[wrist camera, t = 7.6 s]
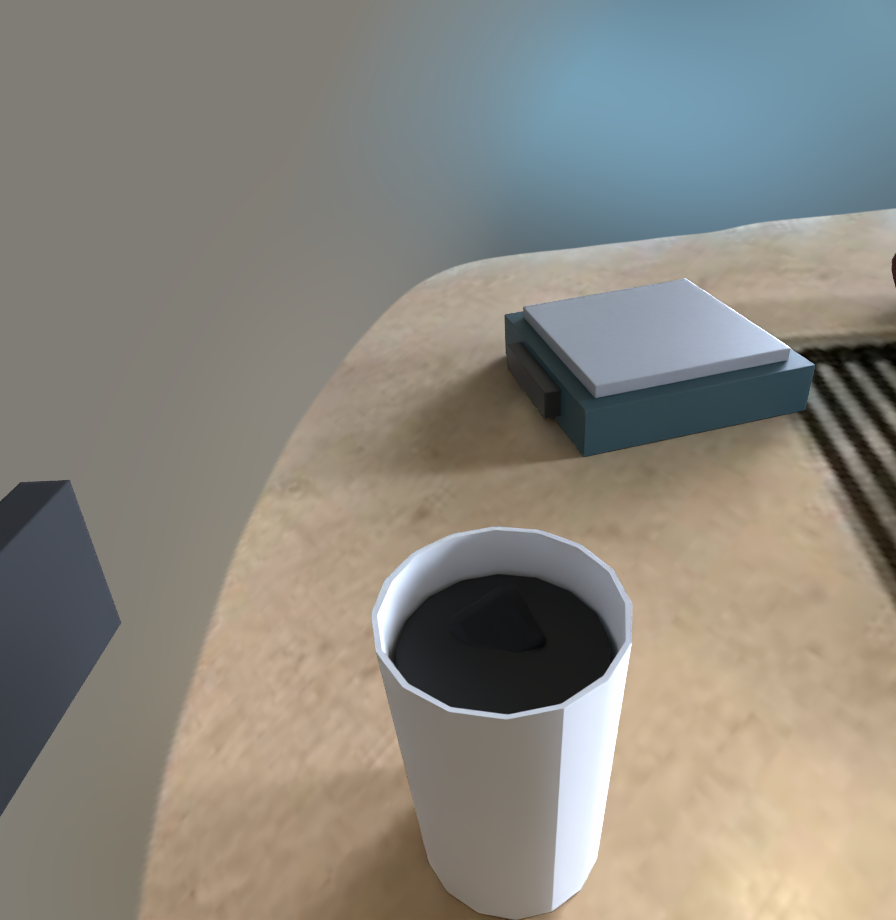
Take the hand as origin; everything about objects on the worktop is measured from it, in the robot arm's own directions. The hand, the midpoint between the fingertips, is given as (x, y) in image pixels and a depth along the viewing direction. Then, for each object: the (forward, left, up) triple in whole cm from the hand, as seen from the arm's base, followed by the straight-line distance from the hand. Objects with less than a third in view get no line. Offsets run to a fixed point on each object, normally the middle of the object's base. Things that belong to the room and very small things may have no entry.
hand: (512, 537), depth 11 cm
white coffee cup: (-3, +4, -17) cm, 18 cm away
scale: (-9, +35, -17) cm, 40 cm away
